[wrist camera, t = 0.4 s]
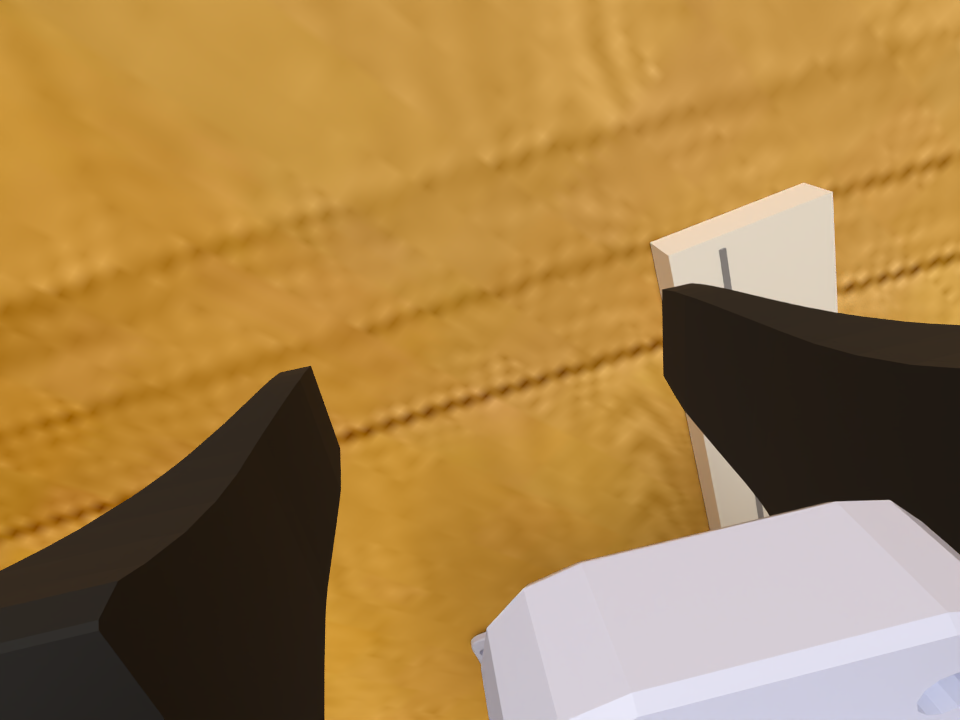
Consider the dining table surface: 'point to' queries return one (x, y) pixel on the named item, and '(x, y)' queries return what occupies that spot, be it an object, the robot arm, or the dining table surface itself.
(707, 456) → the board
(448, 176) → the dining table surface
